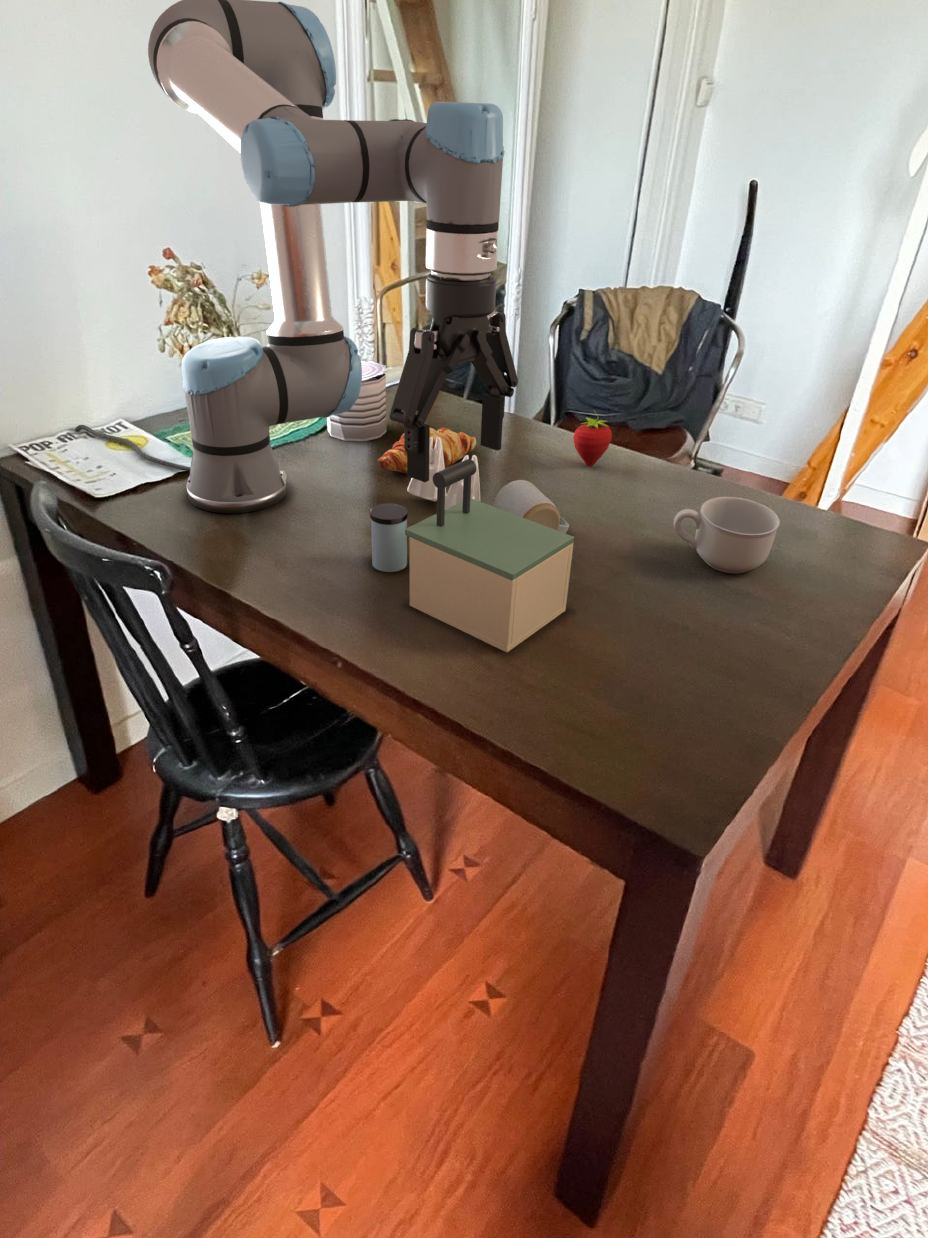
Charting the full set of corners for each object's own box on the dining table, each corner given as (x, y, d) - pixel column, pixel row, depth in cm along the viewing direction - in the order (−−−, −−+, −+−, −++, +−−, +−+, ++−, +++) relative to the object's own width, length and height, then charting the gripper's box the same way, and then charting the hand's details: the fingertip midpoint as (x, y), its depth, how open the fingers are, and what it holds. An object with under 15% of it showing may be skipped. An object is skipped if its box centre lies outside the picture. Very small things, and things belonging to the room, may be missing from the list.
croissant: (463, 462, 155) (451, 420, 154) (497, 453, 147) (485, 408, 146) (371, 488, 143) (358, 442, 141) (403, 479, 135) (389, 430, 133)
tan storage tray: (409, 605, 106) (409, 537, 100) (471, 570, 114) (474, 505, 109) (506, 652, 98) (512, 581, 92) (565, 610, 106) (573, 542, 101)
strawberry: (562, 465, 147) (568, 410, 142) (591, 456, 151) (598, 402, 146) (586, 476, 143) (593, 420, 138) (615, 466, 147) (623, 412, 142)
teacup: (768, 553, 121) (781, 503, 117) (765, 588, 113) (779, 536, 108) (672, 536, 125) (682, 487, 121) (662, 569, 116) (672, 517, 112)
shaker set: (405, 501, 132) (405, 435, 126) (421, 492, 135) (421, 427, 129) (468, 521, 127) (471, 453, 121) (482, 512, 130) (486, 445, 124)
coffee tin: (364, 566, 114) (362, 513, 110) (384, 551, 118) (383, 500, 113) (394, 575, 112) (394, 522, 108) (414, 561, 116) (414, 508, 111)
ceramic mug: (518, 553, 118) (523, 504, 114) (490, 529, 124) (494, 482, 120) (579, 541, 123) (586, 493, 119) (549, 518, 129) (555, 472, 125)
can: (384, 442, 153) (383, 378, 147) (323, 440, 153) (319, 376, 146) (388, 421, 163) (387, 360, 156) (330, 419, 162) (327, 358, 156)
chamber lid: (404, 534, 101) (404, 475, 97) (469, 503, 109) (471, 446, 105) (512, 580, 92) (517, 517, 88) (573, 542, 101) (581, 483, 96)
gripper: (407, 294, 77) (408, 502, 89) (556, 264, 94) (541, 443, 105) (351, 282, 81) (359, 483, 93) (503, 255, 98) (494, 428, 109)
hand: (456, 462), depth 99 cm, fingers open, 13 cm apart
